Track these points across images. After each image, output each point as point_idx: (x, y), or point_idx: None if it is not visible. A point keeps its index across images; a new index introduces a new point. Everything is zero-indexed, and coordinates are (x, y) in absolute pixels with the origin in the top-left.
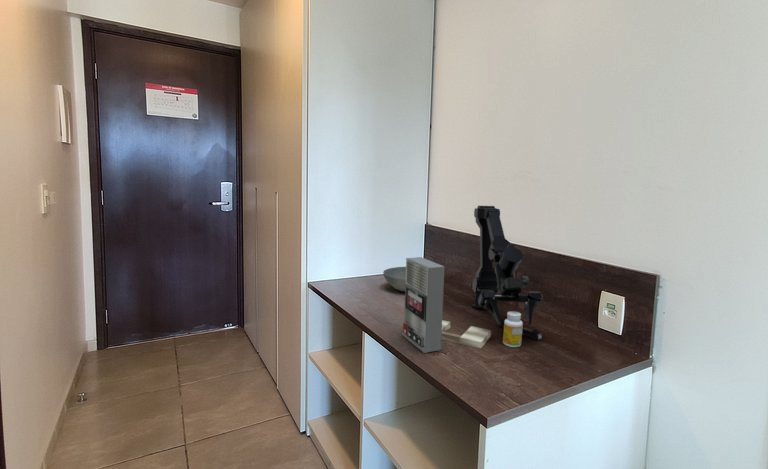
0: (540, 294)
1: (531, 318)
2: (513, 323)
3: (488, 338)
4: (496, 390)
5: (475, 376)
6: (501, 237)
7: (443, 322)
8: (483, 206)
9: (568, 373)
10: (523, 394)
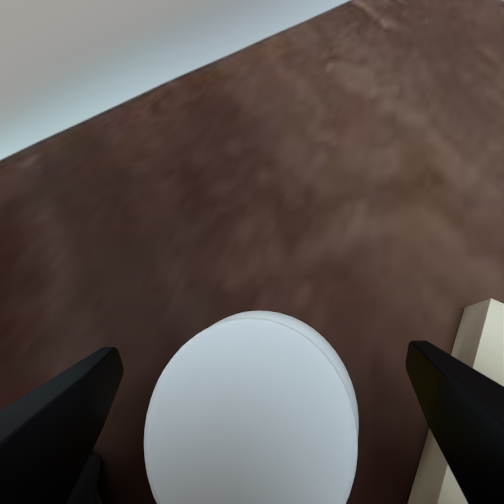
0: None
1: (50, 381)
2: (282, 321)
3: (416, 478)
4: (402, 34)
5: (470, 83)
6: None
7: None
8: None
9: (145, 133)
10: (329, 30)
